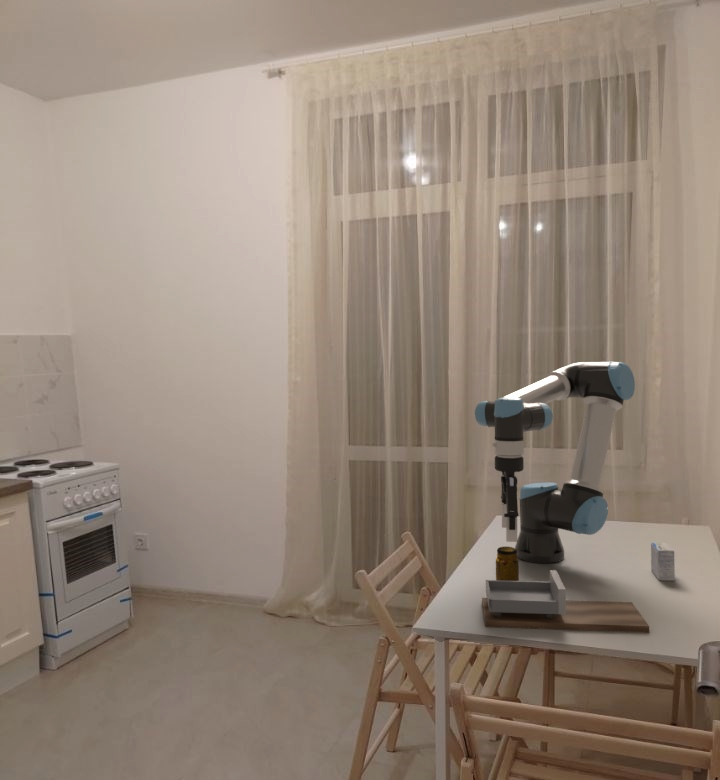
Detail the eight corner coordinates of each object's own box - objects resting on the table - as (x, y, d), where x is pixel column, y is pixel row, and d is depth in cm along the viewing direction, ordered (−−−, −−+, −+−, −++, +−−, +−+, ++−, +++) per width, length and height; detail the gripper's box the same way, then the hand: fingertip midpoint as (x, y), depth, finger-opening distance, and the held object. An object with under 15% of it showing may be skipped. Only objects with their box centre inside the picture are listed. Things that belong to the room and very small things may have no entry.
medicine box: (675, 581, 175) (675, 551, 174) (657, 580, 176) (657, 550, 175) (667, 571, 183) (667, 542, 182) (650, 571, 183) (650, 542, 183)
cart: (486, 597, 162) (485, 568, 162) (556, 599, 160) (556, 570, 159) (489, 618, 149) (488, 587, 149) (565, 621, 147) (565, 589, 146)
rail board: (482, 603, 163) (482, 597, 163) (631, 608, 158) (631, 602, 157) (485, 626, 149) (485, 620, 149) (649, 632, 144) (649, 626, 144)
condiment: (497, 586, 175) (497, 544, 174) (528, 590, 171) (528, 547, 170) (492, 595, 168) (491, 551, 167) (524, 600, 164) (523, 555, 164)
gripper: (491, 448, 180) (491, 521, 181) (498, 463, 156) (498, 547, 157) (518, 449, 179) (518, 522, 180) (529, 463, 155) (529, 548, 156)
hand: (509, 534), depth 168 cm, fingers open, 13 cm apart
